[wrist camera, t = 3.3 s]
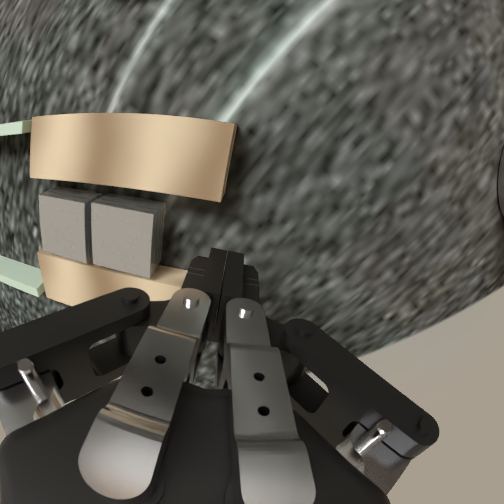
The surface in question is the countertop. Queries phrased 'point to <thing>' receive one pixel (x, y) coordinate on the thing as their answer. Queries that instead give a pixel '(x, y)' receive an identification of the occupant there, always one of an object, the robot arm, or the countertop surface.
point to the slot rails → (127, 181)
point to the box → (10, 269)
